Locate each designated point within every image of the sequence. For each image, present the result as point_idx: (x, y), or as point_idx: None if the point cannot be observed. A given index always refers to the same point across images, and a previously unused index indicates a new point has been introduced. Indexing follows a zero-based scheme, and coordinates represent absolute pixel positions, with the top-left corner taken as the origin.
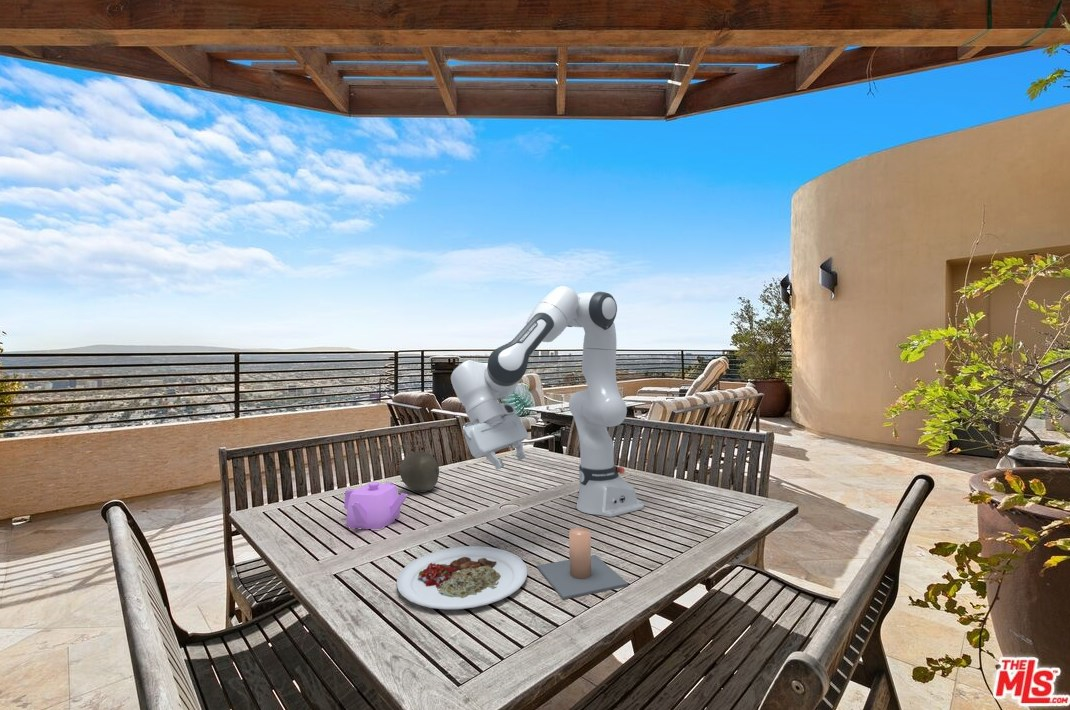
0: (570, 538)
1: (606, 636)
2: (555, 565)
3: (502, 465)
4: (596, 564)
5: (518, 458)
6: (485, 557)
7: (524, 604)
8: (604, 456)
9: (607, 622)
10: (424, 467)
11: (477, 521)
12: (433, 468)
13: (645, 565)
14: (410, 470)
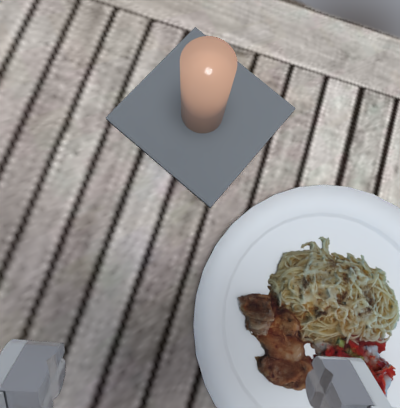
0: (229, 87)
1: (347, 20)
2: (192, 171)
3: (339, 359)
4: (149, 99)
5: (59, 385)
6: (225, 338)
7: (339, 162)
8: None
9: (315, 29)
10: None
11: None
12: None
13: (100, 23)
14: None
